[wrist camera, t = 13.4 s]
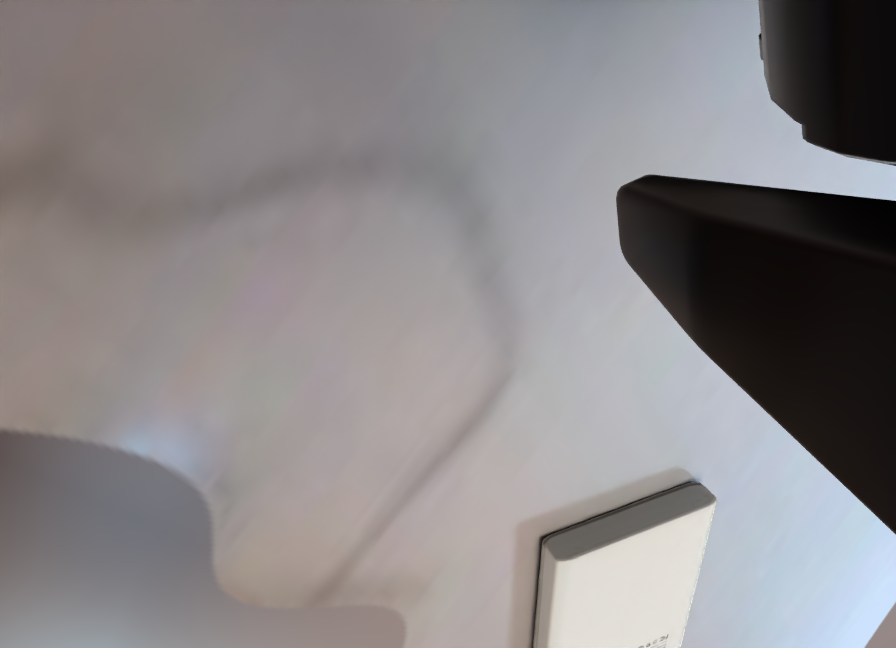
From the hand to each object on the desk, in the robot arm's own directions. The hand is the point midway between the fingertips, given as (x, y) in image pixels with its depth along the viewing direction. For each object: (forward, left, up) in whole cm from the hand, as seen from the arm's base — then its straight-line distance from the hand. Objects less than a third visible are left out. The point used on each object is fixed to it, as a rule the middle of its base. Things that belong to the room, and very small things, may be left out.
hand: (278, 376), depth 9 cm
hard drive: (-10, +30, -13) cm, 34 cm away
